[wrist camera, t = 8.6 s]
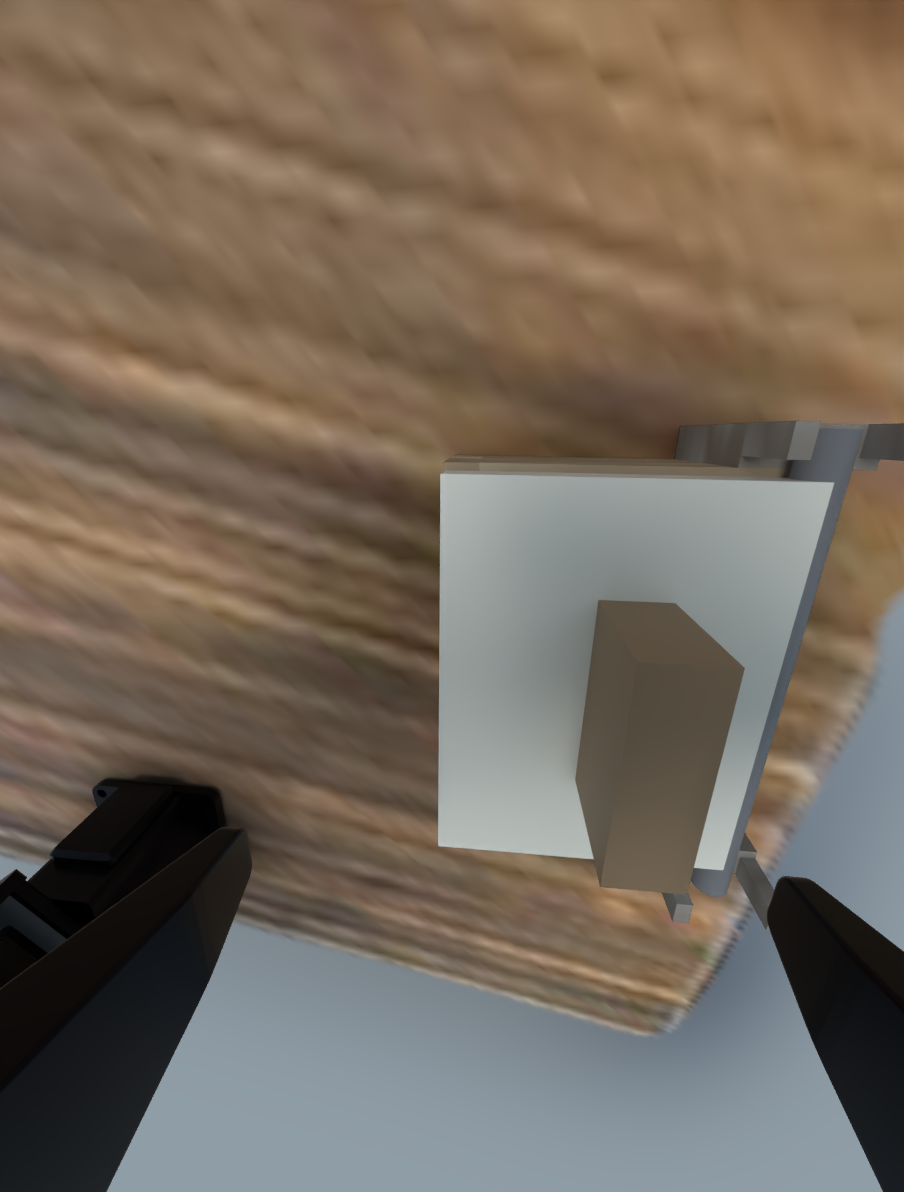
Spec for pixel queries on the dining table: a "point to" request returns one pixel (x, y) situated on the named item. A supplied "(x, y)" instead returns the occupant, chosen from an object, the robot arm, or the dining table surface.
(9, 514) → the dining table surface
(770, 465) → the cabinet
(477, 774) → the cabinet door
